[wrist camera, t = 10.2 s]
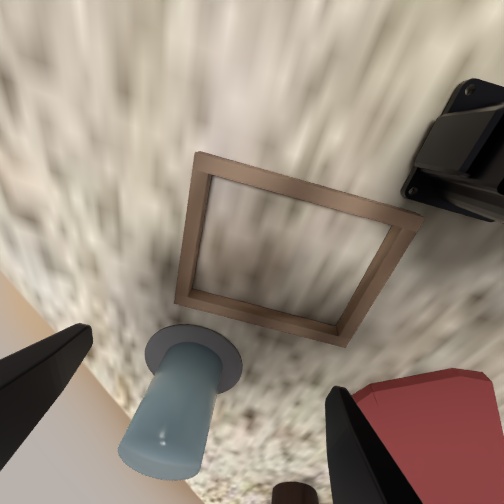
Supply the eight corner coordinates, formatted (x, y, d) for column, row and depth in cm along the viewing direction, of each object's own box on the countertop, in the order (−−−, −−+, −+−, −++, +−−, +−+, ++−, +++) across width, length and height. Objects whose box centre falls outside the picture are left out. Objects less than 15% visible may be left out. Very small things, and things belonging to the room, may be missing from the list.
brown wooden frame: (415, 212, 16) (426, 217, 15) (341, 337, 21) (345, 347, 20) (200, 151, 16) (194, 152, 14) (179, 294, 21) (174, 303, 20)
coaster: (253, 339, 22) (252, 342, 22) (230, 401, 27) (230, 404, 27) (149, 313, 22) (147, 315, 22) (143, 380, 26) (142, 382, 26)
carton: (338, 360, 28) (392, 499, 34) (348, 396, 23) (409, 550, 29) (452, 334, 25) (491, 491, 31) (490, 370, 20) (527, 547, 26)
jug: (213, 401, 27) (190, 498, 19) (160, 388, 26) (117, 482, 19) (228, 351, 23) (207, 448, 16) (167, 335, 23) (117, 427, 16)
